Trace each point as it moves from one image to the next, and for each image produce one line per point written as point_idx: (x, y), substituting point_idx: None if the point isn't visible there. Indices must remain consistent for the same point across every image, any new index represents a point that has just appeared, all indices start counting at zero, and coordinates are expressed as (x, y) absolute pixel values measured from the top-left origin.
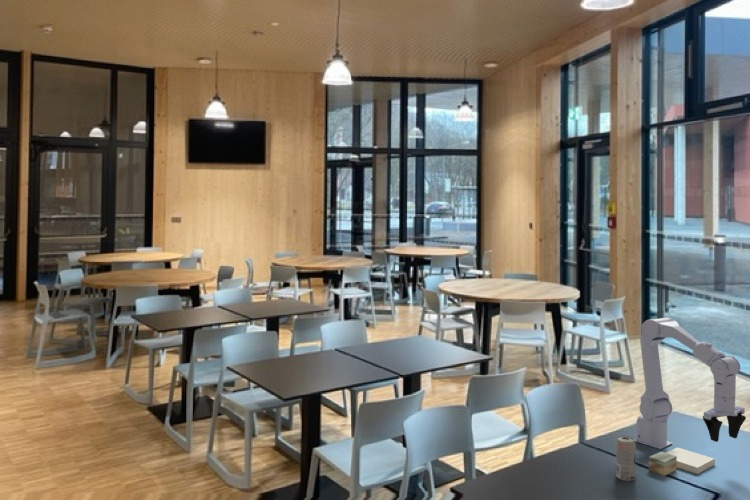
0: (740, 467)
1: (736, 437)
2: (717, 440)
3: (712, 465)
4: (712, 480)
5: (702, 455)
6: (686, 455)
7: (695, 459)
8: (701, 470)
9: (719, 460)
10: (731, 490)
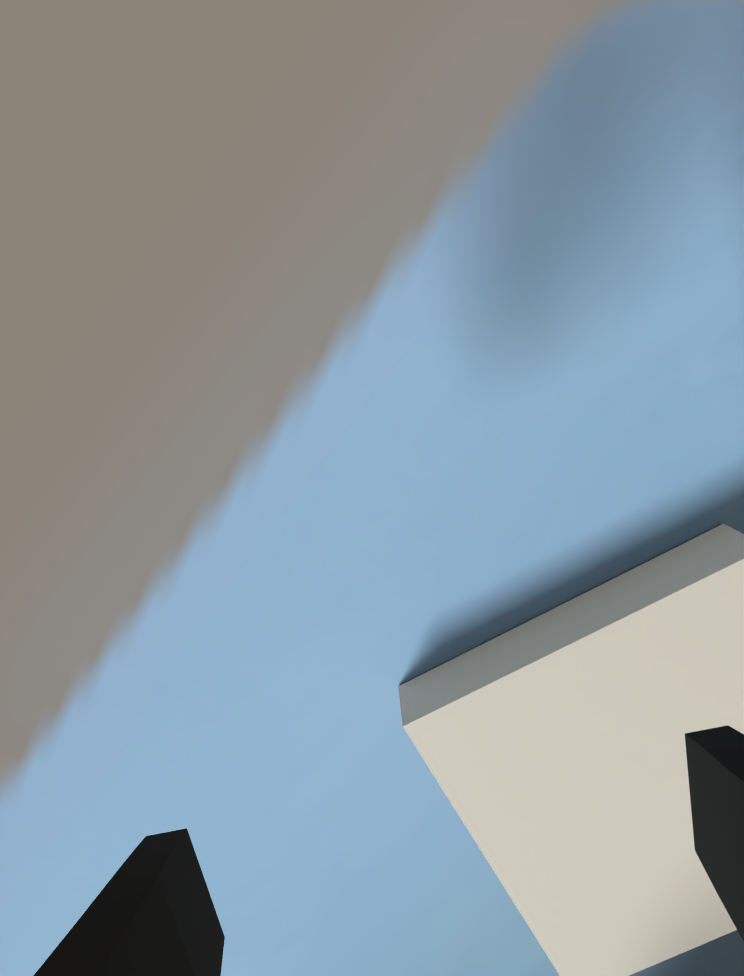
0: (182, 600)
1: (147, 846)
2: (724, 742)
3: (439, 668)
4: (693, 359)
5: (473, 811)
6: (636, 830)
7: (621, 735)
8: (651, 568)
9: (280, 766)
10: (692, 77)
